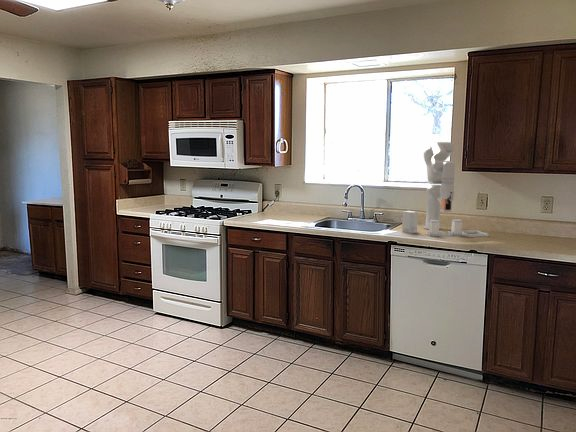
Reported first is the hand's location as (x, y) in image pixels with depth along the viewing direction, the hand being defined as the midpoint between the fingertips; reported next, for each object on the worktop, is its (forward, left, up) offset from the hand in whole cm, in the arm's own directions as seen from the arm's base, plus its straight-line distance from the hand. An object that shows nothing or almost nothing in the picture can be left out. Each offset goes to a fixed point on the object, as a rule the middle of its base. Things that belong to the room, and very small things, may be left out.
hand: (446, 208), depth 302 cm
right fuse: (0, +8, -17) cm, 19 cm away
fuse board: (0, 0, -19) cm, 19 cm away
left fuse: (0, -8, -17) cm, 19 cm away
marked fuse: (0, 0, -2) cm, 2 cm away
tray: (0, +20, -19) cm, 28 cm away
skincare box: (-15, -18, -19) cm, 30 cm away
